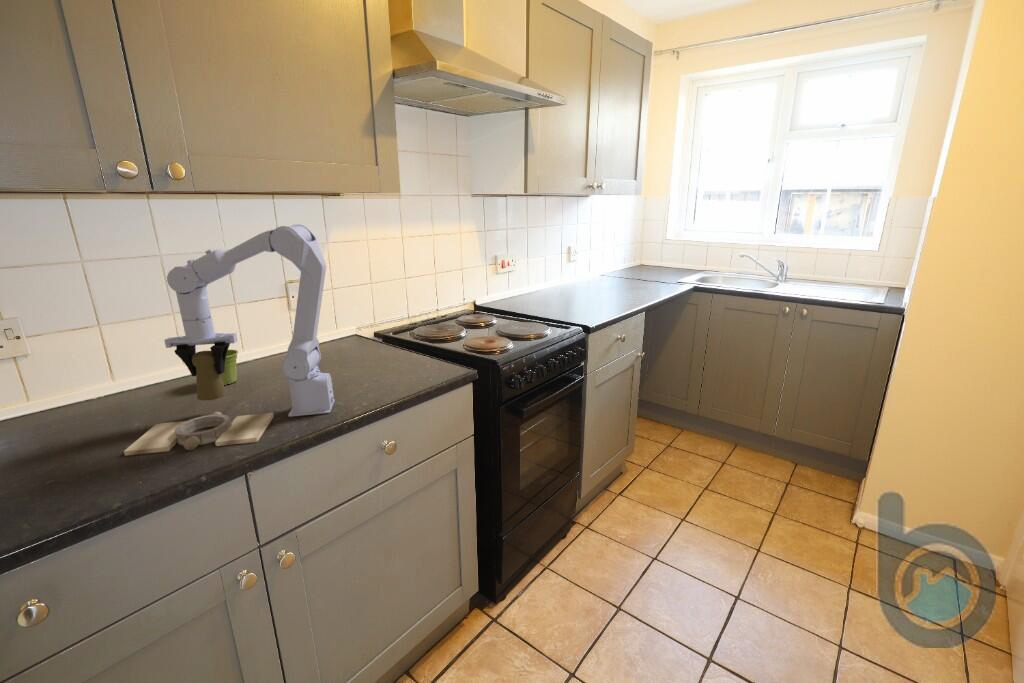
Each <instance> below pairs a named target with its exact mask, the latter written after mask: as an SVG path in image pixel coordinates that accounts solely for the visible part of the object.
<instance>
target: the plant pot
mask: <svg viewBox="0 0 1024 683" xmlns="http://www.w3.org/2000/svg"><path fill="white" fill-rule="evenodd" d="M238 354H239V351H238V349H237V350H236V349H228V351H227V354H226V359H225V372H223V373H222V374H220V376H221V379H222V382H223V384H224V385H225V386H228V385H227V384H230V385H232V384H233V383H236V382H237V381H238V376H237V372H238V371H237V359H238ZM236 380H237V381H236ZM235 381H236V382H235ZM231 383H232V384H231Z"/></svg>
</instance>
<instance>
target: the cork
mask: <svg viewBox="0 0 1024 683" xmlns="http://www.w3.org/2000/svg"><path fill="white" fill-rule="evenodd" d="M192 363H193V365H194V366H195V367H196V376H195V377H196V397H197V398H196V399H197V400H198V401H205V402H206V401H213V400H217V399H220V398H223V397H225V396H226V395H227V391H226V388H225V386H224V384H223V382H222V379H221V376H220V374H218V372H217V368H216V362H215V359H214V356H213V353H212V351H211V350H200V351H196V353H195V354H194V355H193V356H192Z"/></svg>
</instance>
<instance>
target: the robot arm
mask: <svg viewBox="0 0 1024 683" xmlns="http://www.w3.org/2000/svg"><path fill="white" fill-rule="evenodd" d="M264 252H267V253H274V252H276V253H277V254H278V255H280V256H281V257H283V258H285V259H286V260H288V261H290V262H291V263H292V264H294V266H295V267H296V268H297V269H298V270H299V271H300V275H299V276H300V277H299V283H298V284H299V285H298V294H297V301H296V309H295V315H294V325H293V334H292V337H291V338H292V339H291V341H290V343H289V345H288V347H287V352H286V355H285V356H284V358H283V359H282V361H281V371H282V372H283V374H284V375H285V376H286V377H287V379H288V380H287V381H288V387H289V392H290V393H289V394H290V400H291V404H292V405H291V406H292V407H291V409H290V411H289V412H288V415H287V416H288V417H289V418H290V417H301V416H310V415H311V416H312V415H320V414H321V415H323V414H329V413H331V411H332V409H333V406H334V404H335V402H336V401H335V400H336V399H335V398H334V397H335V396H334V389H333V381H332V380H333V379H332V376H331V374H330V373H328V372H321V370H320V368H319V364H320V362H321V360H322V359H321V358H322V354H321V351H320V348H319V346H320V345H319V344H320V341H319V339H318V337H317V336H318V328H319V322H320V314H321V308H322V300H323V294H324V293H323V291H324V285H325V280H326V279H325V278H326V272H327V271H326V270H327V263H326V261H325V260H326V259H324V256H323V253H322V251H321V248H320V246H319V243H318V238H317V236H316V235H315V234H314V233H313V231H311V230H310V229H309V228H308V227H307V226H305V225H303V224H293V225H289V226H286V225H282V226H277V227H276V228H274V229H270V230H266V231H263V232H261V233H259V234H257V235H255V236H253V237H250V238H249V239H247V240H245V241H244V242H241V243H240V244H238V245H236V246H234V247H233V248H231V249H228V250H223V249H221V248H217V249H214V248H209V249H208V250H205V251H204V253H205V254H204V255H202V256H201V257H199V258H196V259H189V260H187V261H186V263H187V264H186V265H182V266H179V265H177V266H174V267H173V268H172V269H171V270H169V272H168V273H167V275H166V281H167V284H168V286H169V287H170V289H171V290H173V291H174V292H175V294H176V299H177V303H178V308H179V312H180V317H181V321H182V325H183V326H182V327H183V331H184V335H182V336H174V337H167V338H165V339H164V345H165V349H168V348H174V347H175V350H174V354H175V355H176V356H177V357H178V358H180V360H181V361H182V362H183V363H184V365H185V366H186V367H187V369H188V371H189V372H190V375H191V376H192V377H196V367H195V366H194V365H193V363H192V356H193V355H194V354H195V353H197V351H196V349H197V348H196V346H202V345H203V346H204V345H211V346H210V347H209V349H210V351H212V353H213V356H214V359H215V362H216V368H217V372H218V374H222V373H223V372H225V359H226V354H227V351H228V350H229V348H230V344H235V343H237V342H238V337H237V333H218V332H217V333H215V328H214V327H215V326H214V323H213V319H212V312H211V309H210V303H209V299H208V293H207V292H208V291H207V286H208V285H210V284H212V283H215V281H217V280H220V279H222V278H224V277H225V276H228V275H230V274H233V273H234V272H235V269H236V265H237V264H239V263H242V262H243V261H245V260H248V259H250V258H252V257H255V256H257V255H259V254H261V253H264Z"/></svg>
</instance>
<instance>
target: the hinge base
mask: <svg viewBox="0 0 1024 683" xmlns="http://www.w3.org/2000/svg"><path fill="white" fill-rule="evenodd" d="M274 418H275V415H274V412H268V413H267V412H266V413H257V414H247V415H246V414H244V415H236V416H235V418H234V419H233V420H232V419H231V418H230V417H229V415H226V414H223V413H222V412H220V411H213V412H212V413H211V414H208V415H207V414H206V415H202V416H201V415H200V416H198V417H193V418H190V419H188V420H182V421H172V422H170V421H169V422H163V423H161V422H160V423H155V424H154V425H153V426H152V427H151V428H149V429H148V430H147V431H146V432H145V433H144V434H143V435H141V436H140V437H139V438H137V440H135V441H134V442H133V443H132V444H131V445H129V446H128V447H127V448H126V449H125V450H123V453H124V456H125V457H127V456H134V455H144V454H154V453H155V454H156V453H162V452H163V453H165V452H170V450H172V448H173V447H175V445H176V444H178V445H179V446H183V447H184V449H185V450H187V451H193V450H195V449H196V448H197V447H198V446H203V445H206V444H210V443H215V446H216V447H221V446H222V447H224V446H230V445H231V446H232V445H239V444H241V445H242V444H250V443H251V444H252V443H258V441H259V440H260V438H261V437H262V436H263V434H264V433H265V431H266V429H267V428H268V426H269V425H270V424H271V422H272V420H273V419H274ZM210 427H213V428H211V429H208V430H204V431H199V432H195V431H198V430H202V429H205V428H210Z"/></svg>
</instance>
